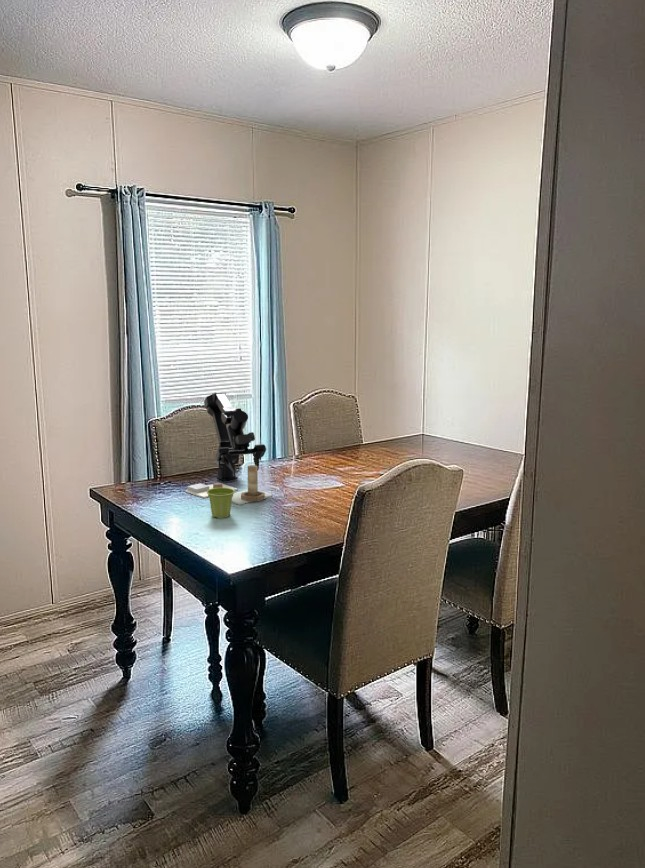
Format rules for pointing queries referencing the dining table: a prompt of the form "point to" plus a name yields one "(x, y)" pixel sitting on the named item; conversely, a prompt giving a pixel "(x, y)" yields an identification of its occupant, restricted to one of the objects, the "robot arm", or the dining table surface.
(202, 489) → the tile
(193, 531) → the dining table surface
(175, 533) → the dining table surface
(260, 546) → the dining table surface
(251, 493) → the dowel
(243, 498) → the board
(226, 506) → the plant pot
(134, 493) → the dining table surface
